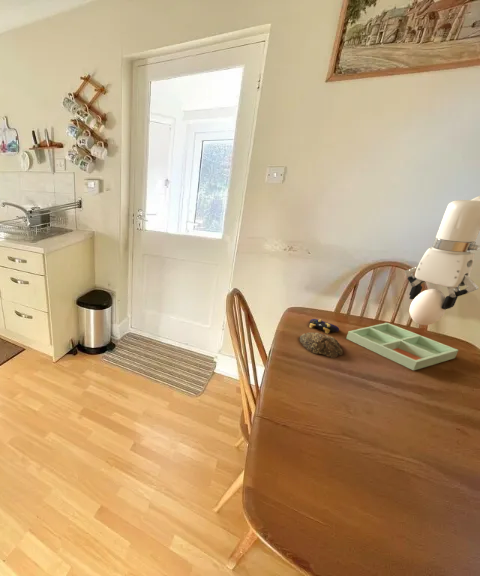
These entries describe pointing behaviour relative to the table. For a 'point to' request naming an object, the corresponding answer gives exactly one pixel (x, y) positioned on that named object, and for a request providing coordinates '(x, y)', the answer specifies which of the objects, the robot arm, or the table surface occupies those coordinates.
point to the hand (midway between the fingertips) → (429, 302)
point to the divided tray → (402, 345)
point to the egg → (427, 307)
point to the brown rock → (321, 344)
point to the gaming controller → (323, 325)
